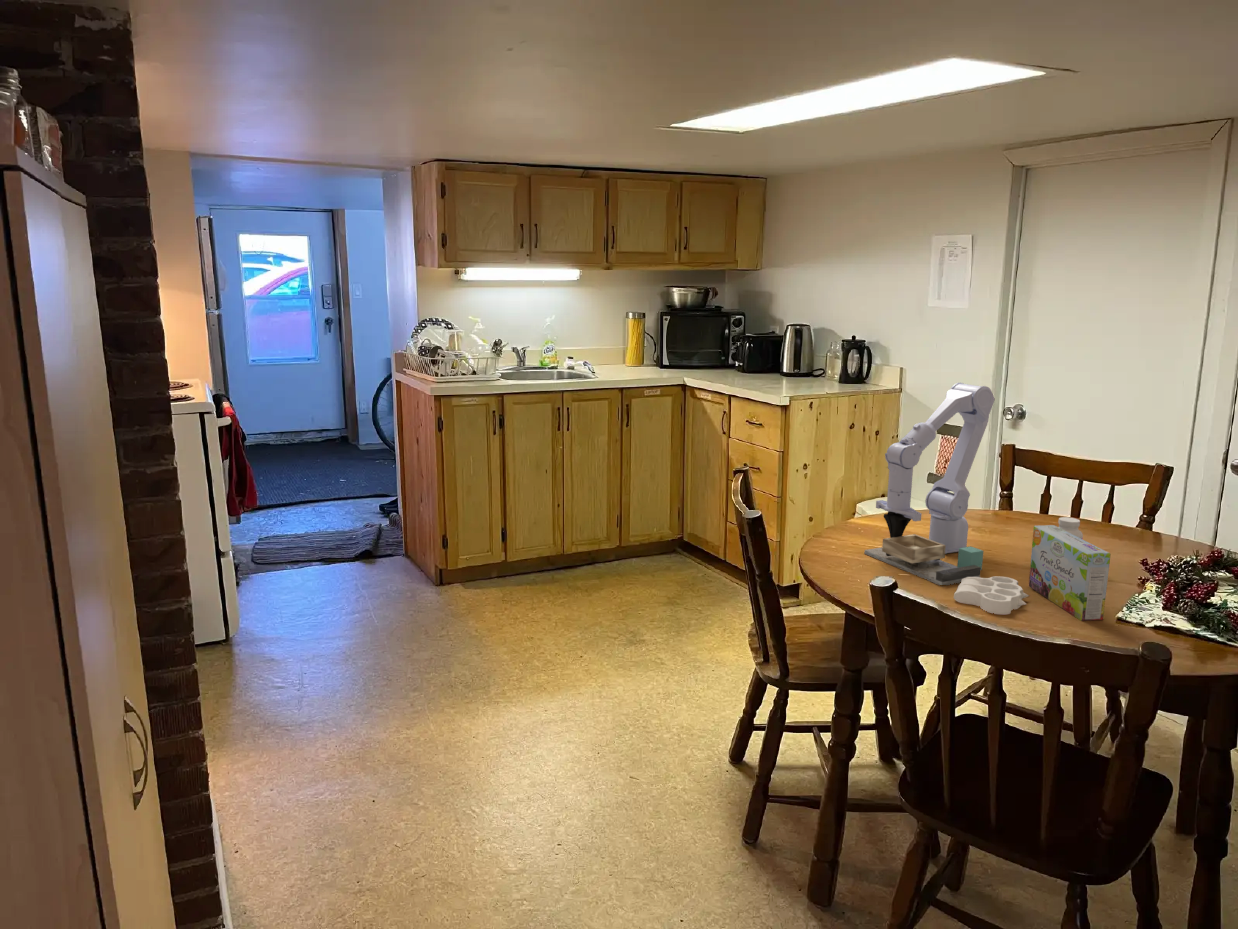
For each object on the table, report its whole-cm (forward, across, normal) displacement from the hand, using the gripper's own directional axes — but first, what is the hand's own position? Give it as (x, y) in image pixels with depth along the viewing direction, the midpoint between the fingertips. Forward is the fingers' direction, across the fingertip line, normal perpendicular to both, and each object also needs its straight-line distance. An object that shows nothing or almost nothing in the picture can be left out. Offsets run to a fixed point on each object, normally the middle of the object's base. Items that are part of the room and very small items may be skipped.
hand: (895, 541), depth 226 cm
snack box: (+4, +41, +11) cm, 43 cm away
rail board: (+4, +9, 0) cm, 10 cm away
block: (+4, +15, +10) cm, 19 cm away
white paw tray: (+5, +34, -2) cm, 34 cm away
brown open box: (+3, +6, 0) cm, 7 cm away
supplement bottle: (+4, +25, +31) cm, 40 cm away
